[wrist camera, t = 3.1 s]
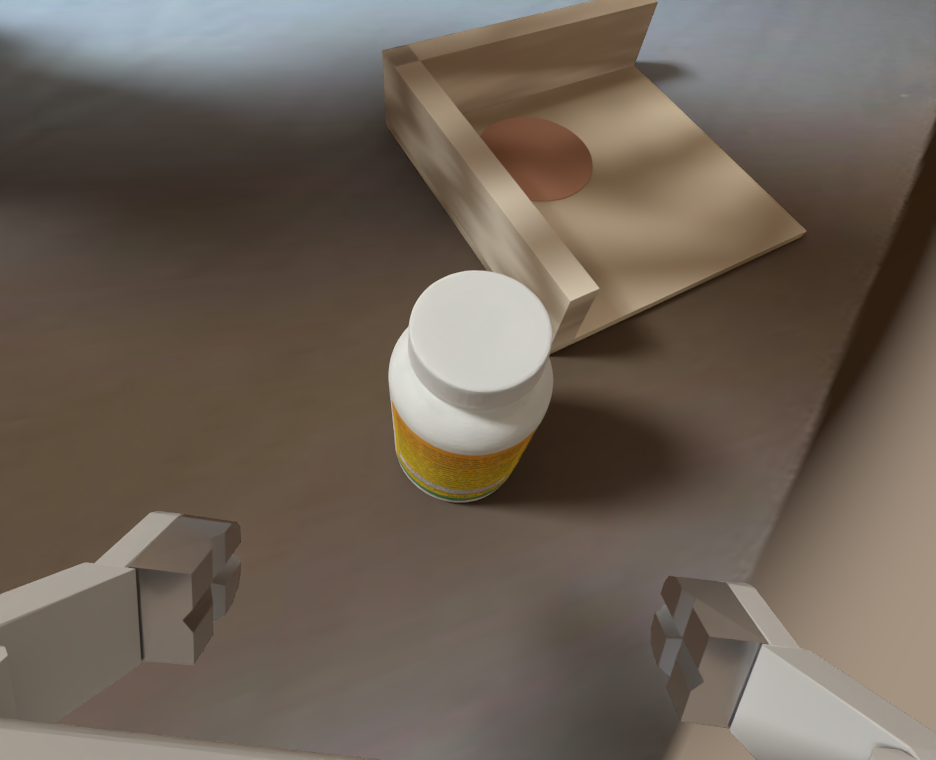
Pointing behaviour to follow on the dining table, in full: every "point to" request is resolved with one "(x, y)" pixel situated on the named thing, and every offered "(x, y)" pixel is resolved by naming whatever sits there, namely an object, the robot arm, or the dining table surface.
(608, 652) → the dining table surface
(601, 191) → the tray
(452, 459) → the supplement bottle
